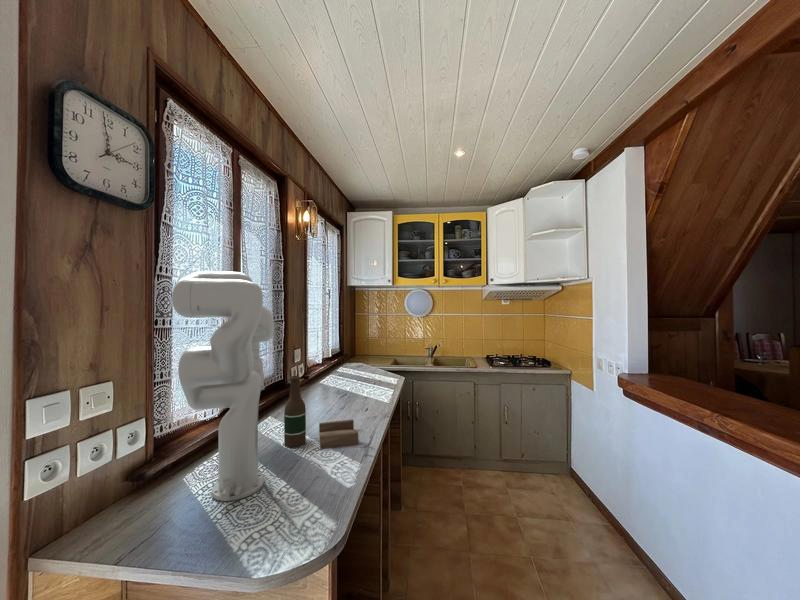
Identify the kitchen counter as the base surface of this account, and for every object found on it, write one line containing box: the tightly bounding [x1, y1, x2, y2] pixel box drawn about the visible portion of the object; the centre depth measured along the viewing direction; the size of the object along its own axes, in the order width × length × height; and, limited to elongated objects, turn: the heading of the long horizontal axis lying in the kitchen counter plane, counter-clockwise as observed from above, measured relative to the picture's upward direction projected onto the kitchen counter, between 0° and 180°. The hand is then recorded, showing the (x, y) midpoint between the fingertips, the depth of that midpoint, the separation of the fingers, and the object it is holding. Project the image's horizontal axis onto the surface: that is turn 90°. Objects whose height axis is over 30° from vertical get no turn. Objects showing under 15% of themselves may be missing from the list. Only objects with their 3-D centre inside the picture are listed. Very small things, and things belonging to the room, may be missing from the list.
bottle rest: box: [318, 419, 359, 450], centre depth 118 cm, size 14×13×4 cm
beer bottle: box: [283, 374, 307, 449], centre depth 114 cm, size 8×8×24 cm
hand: (247, 408), depth 110 cm, fingers closed
